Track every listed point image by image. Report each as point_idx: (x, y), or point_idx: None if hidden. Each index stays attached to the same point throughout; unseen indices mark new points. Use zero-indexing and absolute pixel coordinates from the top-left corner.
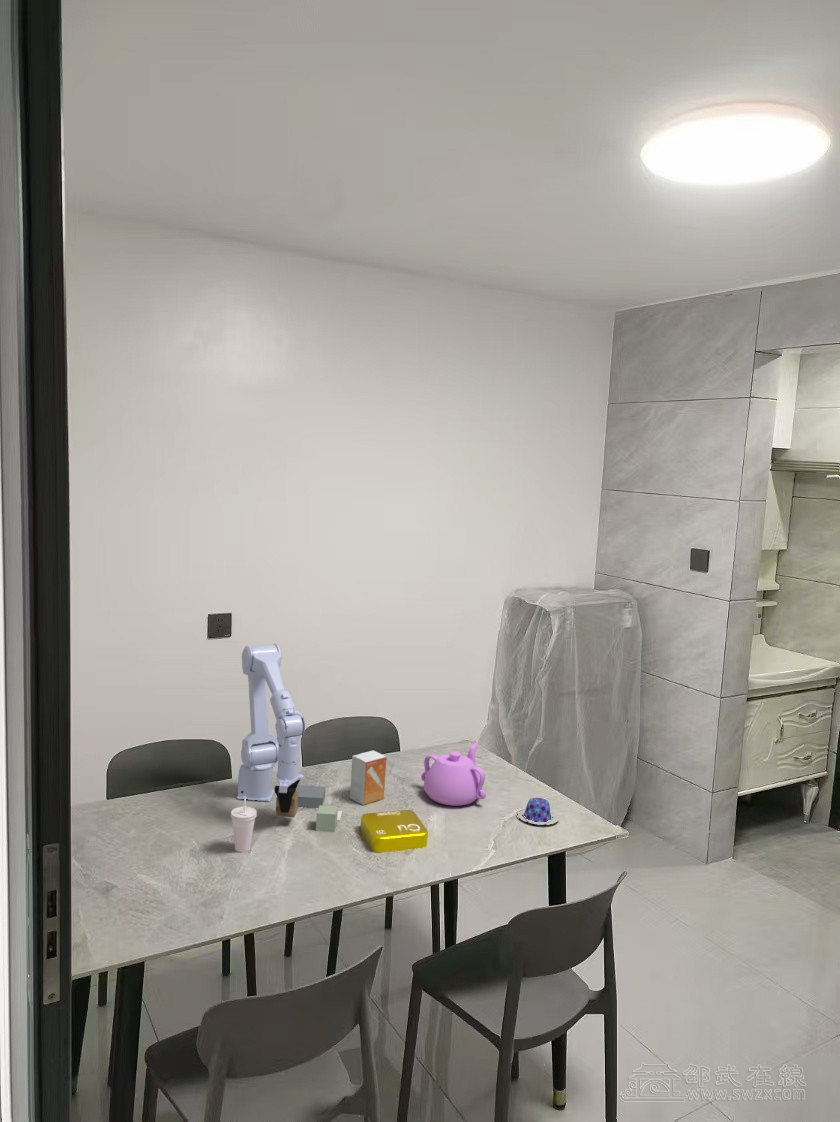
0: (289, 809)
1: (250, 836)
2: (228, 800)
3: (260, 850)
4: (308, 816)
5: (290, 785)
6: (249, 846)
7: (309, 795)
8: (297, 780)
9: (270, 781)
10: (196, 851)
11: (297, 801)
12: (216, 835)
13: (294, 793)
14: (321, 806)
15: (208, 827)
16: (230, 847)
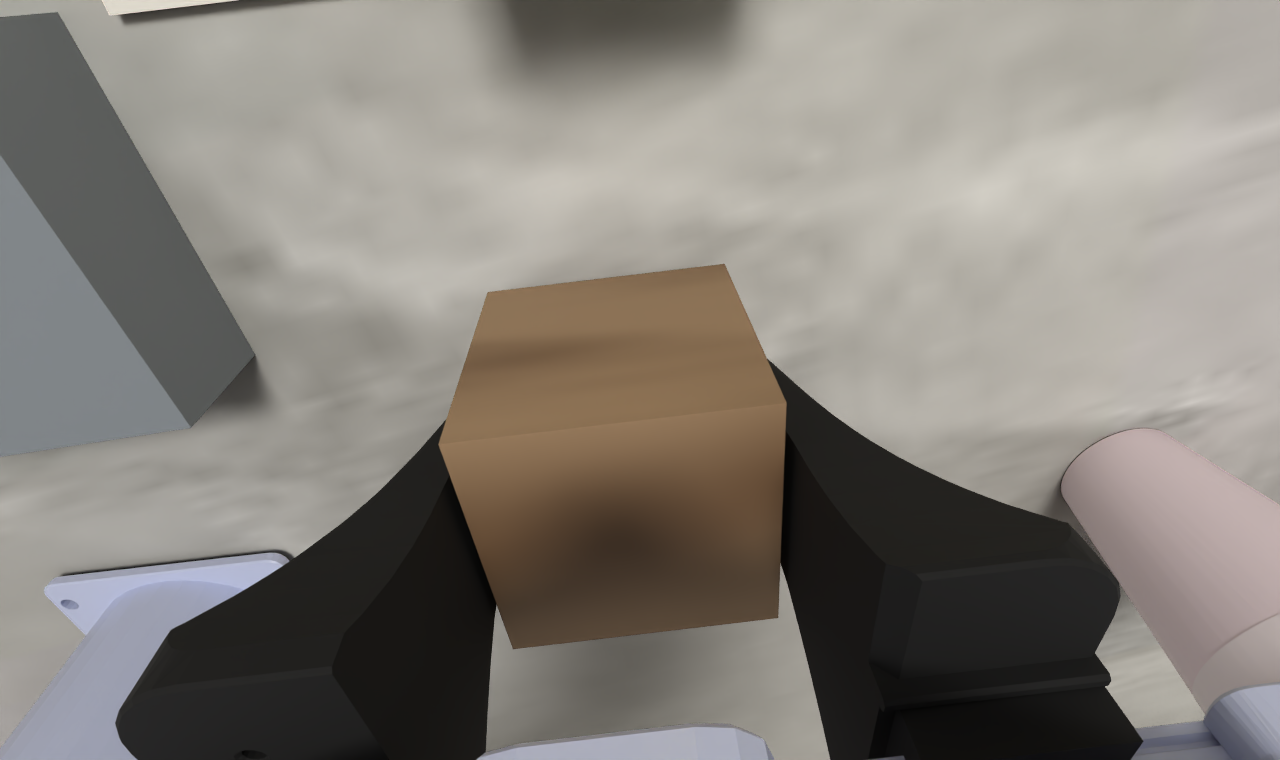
0: (783, 373)
1: (1276, 505)
2: None
3: (1175, 355)
4: (381, 137)
5: (447, 639)
6: (1179, 446)
7: (6, 267)
8: (373, 670)
9: (116, 712)
10: (1104, 645)
11: (509, 351)
12: None
13: (529, 478)
14: None
15: (803, 688)
16: (1083, 533)
